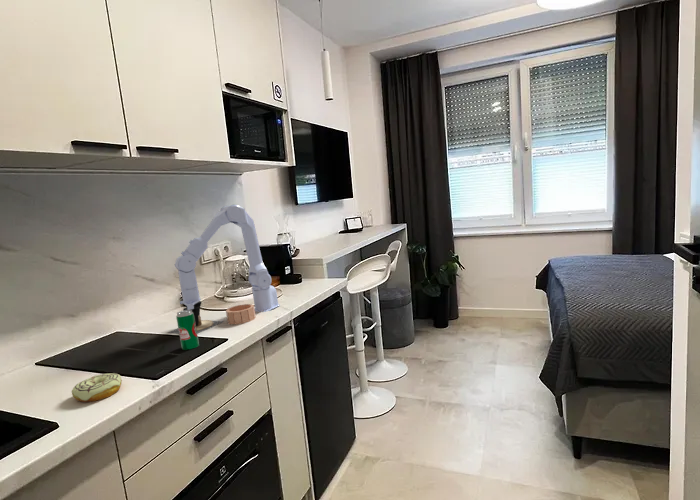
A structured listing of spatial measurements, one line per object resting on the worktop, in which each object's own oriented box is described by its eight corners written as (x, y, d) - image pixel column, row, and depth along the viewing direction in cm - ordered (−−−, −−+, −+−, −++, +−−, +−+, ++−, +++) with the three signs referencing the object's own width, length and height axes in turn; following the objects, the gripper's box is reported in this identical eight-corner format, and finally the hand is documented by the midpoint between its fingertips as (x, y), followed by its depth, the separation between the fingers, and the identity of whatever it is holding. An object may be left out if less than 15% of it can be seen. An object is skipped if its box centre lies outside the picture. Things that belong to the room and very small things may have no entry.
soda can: (178, 350, 125) (171, 313, 123) (191, 344, 129) (185, 308, 127) (189, 352, 122) (183, 314, 121) (202, 345, 127) (196, 309, 125)
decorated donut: (83, 409, 93) (79, 394, 92) (68, 398, 100) (64, 384, 99) (130, 389, 101) (127, 375, 100) (113, 380, 107) (110, 367, 107)
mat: (198, 321, 157) (198, 319, 157) (224, 322, 150) (224, 321, 150) (167, 333, 145) (167, 332, 144) (194, 336, 138) (194, 334, 138)
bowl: (241, 316, 156) (239, 303, 156) (261, 317, 152) (259, 304, 151) (222, 324, 148) (220, 311, 147) (242, 326, 143) (240, 312, 142)
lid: (198, 320, 155) (196, 312, 155) (220, 322, 149) (218, 313, 149) (171, 331, 145) (169, 322, 144) (194, 333, 139) (192, 323, 139)
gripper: (180, 286, 151) (186, 321, 153) (175, 294, 137) (182, 331, 139) (199, 283, 153) (205, 317, 155) (196, 290, 139) (203, 327, 141)
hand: (195, 324), depth 147 cm, fingers open, 5 cm apart
